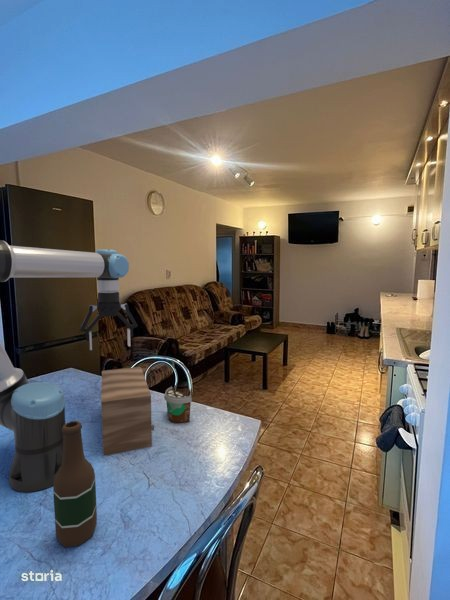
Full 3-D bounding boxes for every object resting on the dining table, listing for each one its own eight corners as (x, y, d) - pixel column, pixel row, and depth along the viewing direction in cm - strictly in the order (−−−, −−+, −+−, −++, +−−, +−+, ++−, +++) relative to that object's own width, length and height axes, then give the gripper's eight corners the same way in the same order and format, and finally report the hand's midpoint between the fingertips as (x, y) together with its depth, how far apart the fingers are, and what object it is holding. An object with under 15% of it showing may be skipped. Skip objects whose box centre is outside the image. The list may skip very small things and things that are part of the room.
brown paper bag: (151, 446, 96) (150, 395, 94) (103, 456, 91) (101, 402, 89) (141, 407, 122) (140, 366, 120) (103, 413, 117) (101, 370, 115)
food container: (157, 416, 115) (157, 390, 114) (171, 411, 119) (171, 386, 118) (178, 429, 106) (177, 401, 105) (192, 422, 111) (191, 395, 109)
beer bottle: (99, 538, 64) (95, 428, 61) (56, 556, 60) (49, 438, 57) (94, 512, 70) (90, 411, 68) (55, 526, 67) (49, 420, 64)
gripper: (141, 289, 124) (142, 341, 127) (71, 291, 114) (74, 348, 116) (144, 291, 117) (145, 346, 120) (70, 293, 107) (73, 353, 110)
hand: (110, 347), depth 118 cm, fingers open, 13 cm apart
